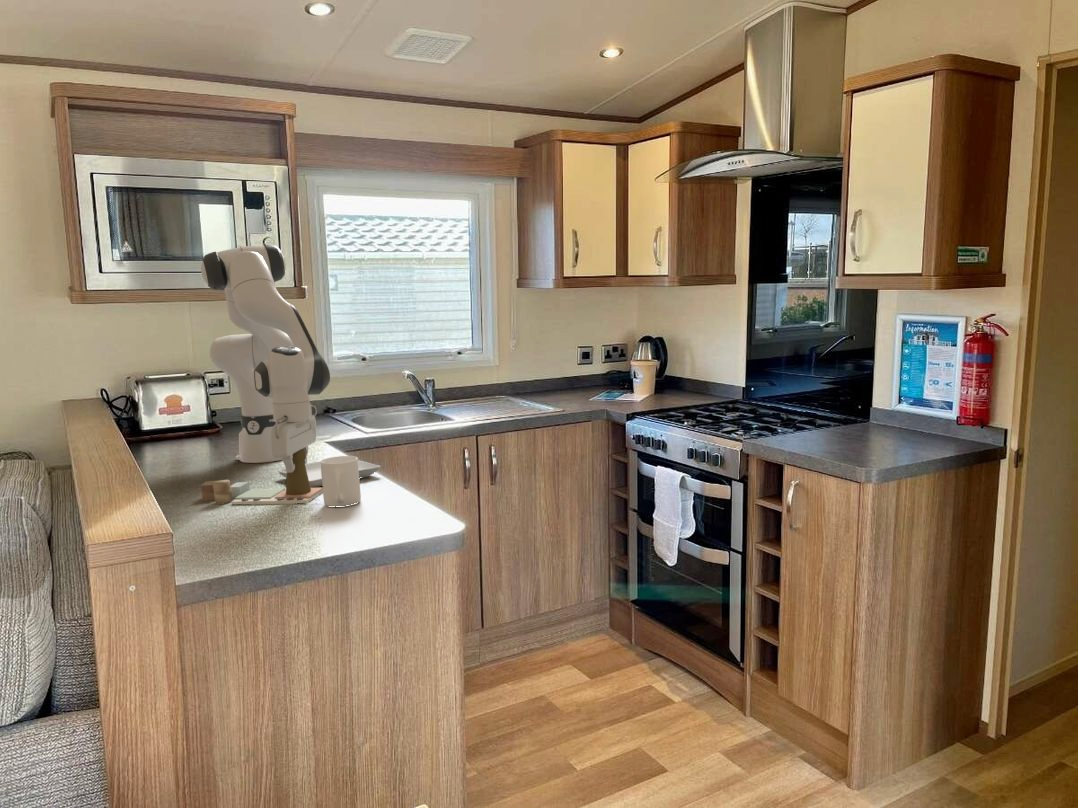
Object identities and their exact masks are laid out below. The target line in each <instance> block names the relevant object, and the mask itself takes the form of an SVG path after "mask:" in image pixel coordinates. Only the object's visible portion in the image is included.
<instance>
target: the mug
mask: <svg viewBox="0 0 1078 808" xmlns="http://www.w3.org/2000/svg"><path fill="white" fill-rule="evenodd" d="M358 460H359V458H358V457H357V456H353V455H340V456H339V455H338V456H331V457H327V458H323V459H321V460H320V461H321V462H320V461H319V462H320V463H321V475H322V486H323V487H322V488H323V493H322V495H323V497H322V498H323V503H324V505H325V506H326V507H327V506H335V507H336V506H346V505H351V504H354V503H357V502H359V501H360V502H361V498H362V497H361V496H362V495H361V494H362V493H361V483H360V482H361V481H360V479H359V468H358ZM360 502H359V503H360Z"/></svg>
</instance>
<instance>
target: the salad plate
mask: <svg viewBox="0 0 1078 808" xmlns="http://www.w3.org/2000/svg"><path fill="white" fill-rule="evenodd" d="M320 462H321V460H320V461H317V462H316V461H315V462H311V463H307V464H305V466H306V471H307V475H308V480H309V484H310V488H321V487H320V486H322V475H321V463H320ZM358 468H359V478H360V477H365V476H366V477H369V476H372V475H373V474H375V473H376V472H378V471H379V470H380V468H381V465H379V464H375V463H371V462H367V461H363V460H359V459H358ZM374 472H375V473H374ZM277 473H279V475H281V476H282V477H284V478H285V479H286V478H287V472H286V467H285V468H282V469H281V468H280V469H278V470H277ZM366 477H365V478H366Z"/></svg>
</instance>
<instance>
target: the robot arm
mask: <svg viewBox="0 0 1078 808" xmlns="http://www.w3.org/2000/svg"><path fill="white" fill-rule="evenodd" d="M201 259H202V261H201V265H200V272H201V276H202V279H203V281H204V282H205V283H206V285H207V286H208V288H209V289H211V290H213V291H224V294H225V295H224V296H225V300H226V307H227V311H228V317H229V320H230V322H232V323H233V324H234V325H235V326H236V327H237V328H238V329H241V330H244V331H246V332H249V333H240V334H229V335H223V336H220V337H217V338H215V339H214V340H213V341H212V343H211V345H210V347H209V348H210V349H209V358H210V359H211V362H212V364H213V365H214V366H215V367H216V368H217V369H219V370H220V371H221V372H223V373H225V375H227V376H228V377H229V378H230V379H231V380H232V382H233V384H234V385H235V387H236V390H237V393H238V397H239V401H240V407H241V409H240V410H241V415H240V424H241V428H242V429H241V431H240V432H239V433H238V450H239V451H238V455H236V456H235V460H237V461H240V462H242V463H246V464H247V463H250V464H254V463H255V464H259V463H260V464H261V463H271V462H277V461H282V462H283V465H284V467H285V468H286V472H287V473H292V472H293V471H295V464H293V461H292V458H293V454H294V453H296V452H297V451H299V450H301V449H304V450H305V452H306V459H305V461H304V462H305V464H308V453H309V446H310V445H312V444H314V443H315V442H316V439H317V421H316V416H317V406H315V405H312V403H311V402H310V401H311V400H310V396H309V395H317V396H318V395H320V394H321V393H322V392H324V391H325V389H326V388H327V387H328V385H329V384H330V382H331V374H330V369H329V366H328V364H327V362H326V360H325V359H324V358H323V357H322V355H321V354H320V352H319V350H318V349H317V346H316V344H315V341H314V340H313V339H312V337H311V334H310V332H309V330H308V328H307V327H306V324H305V322H304V321H303V318H302V316H301V315H300V313H299V311H298V309H297V308H296V307H295V306H294V304H291V303H289V302H288V301H286V300H285V299H284V298H283V296H282V295H281V294H280V293H279V291H278V289H277V287H276V284H275V283H276V282H278V281H281V280H283V278H284V276H286V270H287V267H286V266H287V262H286V258H285V256H284V254H283V253H282V251H281V249H280V248H279V247H278V246H277V245H273V244H264V245H246V246H240V247H236V248H235V247H234V248H230V249H225V250H221V251H215V250H214V251H212V252H209V253H207V254H205V255H204V256H203V258H201Z"/></svg>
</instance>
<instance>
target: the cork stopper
mask: <svg viewBox="0 0 1078 808" xmlns="http://www.w3.org/2000/svg"><path fill="white" fill-rule="evenodd" d="M215 481H216V482H213V483H212V484H213V490H214V497H215V500H214V503H215V505H223V503H224V504H228V502H229V503H231V502H232V501H233V500H234V498H232V492H231V481H230V480H229V479H222V480H215Z"/></svg>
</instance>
